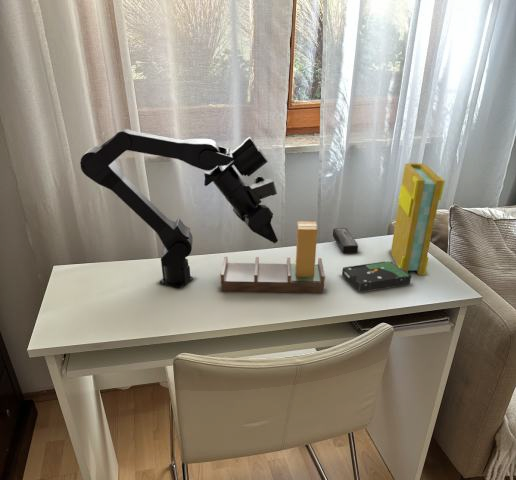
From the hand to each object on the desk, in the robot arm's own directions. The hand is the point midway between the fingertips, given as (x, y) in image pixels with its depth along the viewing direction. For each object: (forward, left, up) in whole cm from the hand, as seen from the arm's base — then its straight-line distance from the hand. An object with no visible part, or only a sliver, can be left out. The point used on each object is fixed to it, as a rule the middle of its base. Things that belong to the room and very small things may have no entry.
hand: (271, 237), depth 126 cm
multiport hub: (+9, +32, -12) cm, 35 cm away
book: (+29, +28, -12) cm, 42 cm away
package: (+9, +1, -8) cm, 12 cm away
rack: (+2, -2, -11) cm, 12 cm away
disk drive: (+25, +12, -12) cm, 30 cm away
